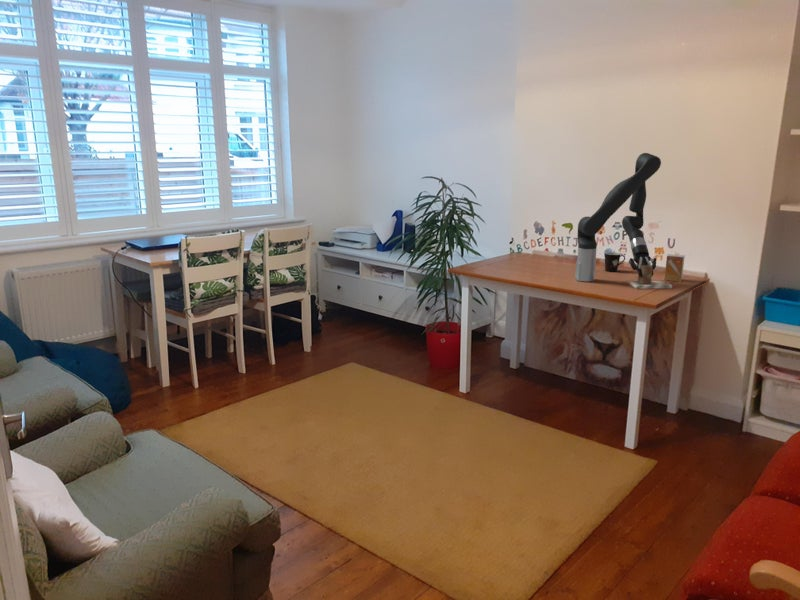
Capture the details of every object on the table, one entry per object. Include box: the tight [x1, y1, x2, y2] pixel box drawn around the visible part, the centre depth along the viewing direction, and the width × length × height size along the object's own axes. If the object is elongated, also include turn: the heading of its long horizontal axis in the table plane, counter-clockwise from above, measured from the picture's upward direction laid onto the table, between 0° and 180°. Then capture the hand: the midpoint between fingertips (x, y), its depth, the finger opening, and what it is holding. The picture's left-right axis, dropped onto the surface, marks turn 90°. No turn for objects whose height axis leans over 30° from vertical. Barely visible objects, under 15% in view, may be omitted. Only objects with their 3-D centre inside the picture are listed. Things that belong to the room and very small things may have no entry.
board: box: [628, 280, 673, 290], centre depth 313 cm, size 18×10×2 cm, turn 91°
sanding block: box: [637, 265, 653, 284], centre depth 312 cm, size 4×5×9 cm
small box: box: [663, 254, 686, 282], centre depth 325 cm, size 8×6×13 cm
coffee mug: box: [604, 251, 626, 273], centre depth 349 cm, size 12×9×10 cm
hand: (646, 276), depth 310 cm, fingers closed on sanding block, 4 cm apart
